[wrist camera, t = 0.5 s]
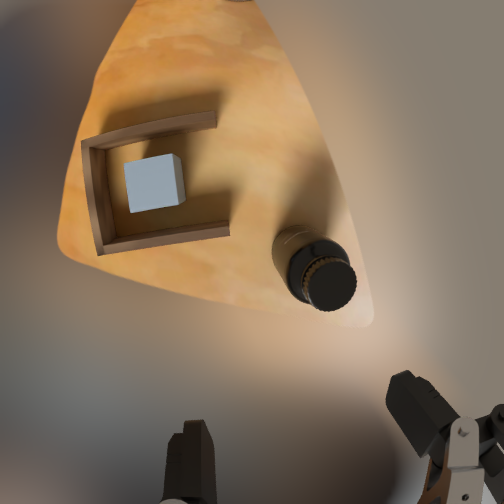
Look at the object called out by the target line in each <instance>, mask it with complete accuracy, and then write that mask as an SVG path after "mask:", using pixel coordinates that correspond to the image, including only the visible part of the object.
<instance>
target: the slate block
mask: <svg viewBox="0 0 504 504" xmlns="http://www.w3.org/2000/svg"><path fill="white" fill-rule="evenodd" d="M124 171H125V179H126V187H127V194H128V201H129V207H130V213H134V212H140V211H145V210H150V209H156V208H162V207H168V206H174V205H179V204H181V203H182V202H184V201H186V195H185V188H184V180H183V172H182V164H181V158H179V157H178V156H176V155H174V154H172V153H171V154H166V155H161V156H156V157H151V158H146V159H141V160H137V161H132V162H128V163H124Z"/></svg>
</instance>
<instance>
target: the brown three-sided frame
mask: <svg viewBox="0 0 504 504" xmlns="http://www.w3.org/2000/svg"><path fill="white" fill-rule="evenodd" d="M213 128H216V115H215V111H208V112H200V113H194V114H187V115H182V116H176V117H170V118H165V119H160V120H155V121H151V122H146V123H142V124H138V125H134V126H130V127H126V128H122V129H118V130H114V131H111V132H107V133H104V134H101V135H97V136H94V137H91V138H88V139H85V140H82V141H81V151H82V163H83V173H84V182H85V190H86V197H87V204H88V210H89V216H90V222H91V227H92V232H93V237H94V242H95V246H96V251H97V255H98V256H101V255H107V254H113V253H119V252H125V251H131V250H138V249H144V248H151V247H157V246H164V245H170V244H177V243H184V242H190V241H197V240H204V239H211V238H218V237H225V236H230V230H229V224H228V220H224V221H217V222H210V223H203V224H196V225H190V226H183V227H177V228H170V229H164V230H158V231H152V232H146V233H140V234H134V235H128V236H123V237H117V235H116V230H115V225H114V219H113V213H112V207H111V201H110V194H109V187H108V179H107V170H106V161H105V150H108V149H112V148H116V147H120V146H124V145H128V144H132V143H136V142H140V141H145V140H149V139H154V138H159V137H164V136H169V135H175V134H180V133H186V132H192V131H199V130H206V129H213Z"/></svg>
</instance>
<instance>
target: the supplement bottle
mask: <svg viewBox="0 0 504 504" xmlns="http://www.w3.org/2000/svg"><path fill="white" fill-rule="evenodd" d="M272 259H273V263H274V265H275V267H276V269H277V271H278V272H279V274H280V276H281V278H282V279H283V281H284V283H285V285H286V286H287V288H288V290H289V291H290V293H291V294H292V295H293V296H294V297H295V298H296V299H297V300H299V301H301V302H303V303H306V304H310V305H312V306H314V307H315V308H316V309H319V310H320V311H324V312H326V311H328V312H330V311H335V310H337V309H340V308H341V307H343V306H344V305H346V304H347V303H348V302H349V301H350V300H351V298H352V297H353V295H354V292H355V291H356V287H357V285H356V283H357V280H356V275H355V271H353V268H352V267H351V266H350V261H349V258H348V255H347V253H346V252H345V250H344V249H343V248H342V247H341V246H340V245H339V244H338V243H336V242H335V241H333V240H331V239H330V238H328V237H326V236H325V235H323V234H321V233H320V232H318V231H316V230H314V229H312V228H310V227H308V226H303V225H296V226H292V227H289V228H287V229H285V230H284V231H283V232H281V233H280V234H279V235H278V237H277V238H276V240H275V242H274V244H273V248H272Z"/></svg>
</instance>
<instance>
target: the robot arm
mask: <svg viewBox="0 0 504 504" xmlns="http://www.w3.org/2000/svg"><path fill="white" fill-rule="evenodd" d="M230 1H250V0H230ZM386 406H387V408H388V410H389V412H390V413H391V415H392V416H393V418H394V419H395V421H396V422H397V424H398V425H399V427H400V428H401V430H402V431H403V433H404V434H405V436H406V437H407V439H408V440H409V442H410V443H411V445H412V446H413V448H414V449H415V451H416V452H417V454H418V456H419V457H420V458H422V457H424V456H425V455H427V454H429V455H430V459H429V464H428V469H427V474H426V479H425V484H424V488H423V492H422V495H421V497H420V499H419V501H418V502H417V504H481V501H482V492H483V484H484V482H485V484H486V485H487V487H488V489H489V490H490V492H491V494H492V495H493V497H494V499H495V501H496V502H497V504H504V454H503V453H502V451H501V450H500V449H499V447H498V446H497V442H498V443H499V444H500V446H501V447H502V448H503V450H504V404H499V405H497V406H495V407H494V409H493V410H492V412H491V413H490V414H489V415H487V416H484V417H481V418H478V419H475V420H474V419H472V418H470V417H460V416H459V415H458V414H457V413H456V412H455V410H454V409H453V408H452V407H451V406H450V405H449V404H448V402H447V401H446V400H445V399H444V398H443V397H442V396H440V393H439V392H438V391H437V390H435V388H434V387H433V386H432V385H431V383H430V382H429V381H427V380H425V379H423V378H421V377H420V376H419V377H415V376H414V375H413V374H412V373H411V372H410V371H409V370H406V371H403V372H400V373H398V374H396V375H393V376H392V377H391V380H390V384H389V387H388V391H387V395H386ZM214 452H215V451H214V444H213V440H212V438H211V435H210V433H209V431H208V429H207V426H206V424H205V422H204V420H189V421H185V422H184V428H183V433H174V435H173V436H172V438H171V439H170V441H169V443H168V449H167V459H166V463H167V464H166V469H165V480H164V493H163V497H162V500H161V501H160V503H159V504H217V491H216V474H215V453H214Z"/></svg>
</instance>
